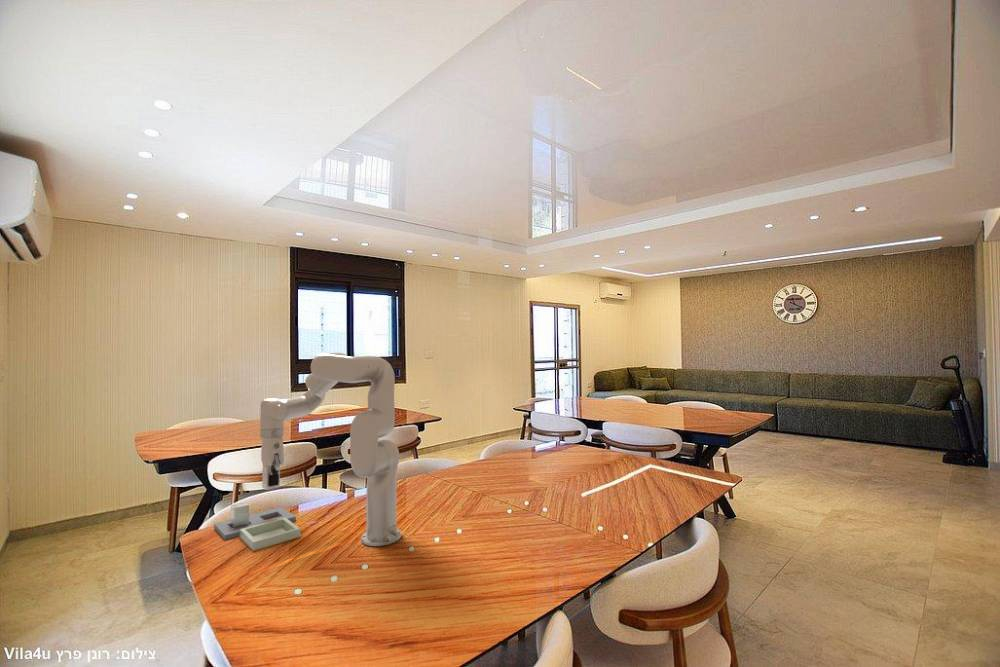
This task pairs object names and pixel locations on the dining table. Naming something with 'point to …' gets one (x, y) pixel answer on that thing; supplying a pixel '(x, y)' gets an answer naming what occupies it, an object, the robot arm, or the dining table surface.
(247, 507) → the block
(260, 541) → the tray
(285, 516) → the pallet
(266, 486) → the block
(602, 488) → the dining table surface
